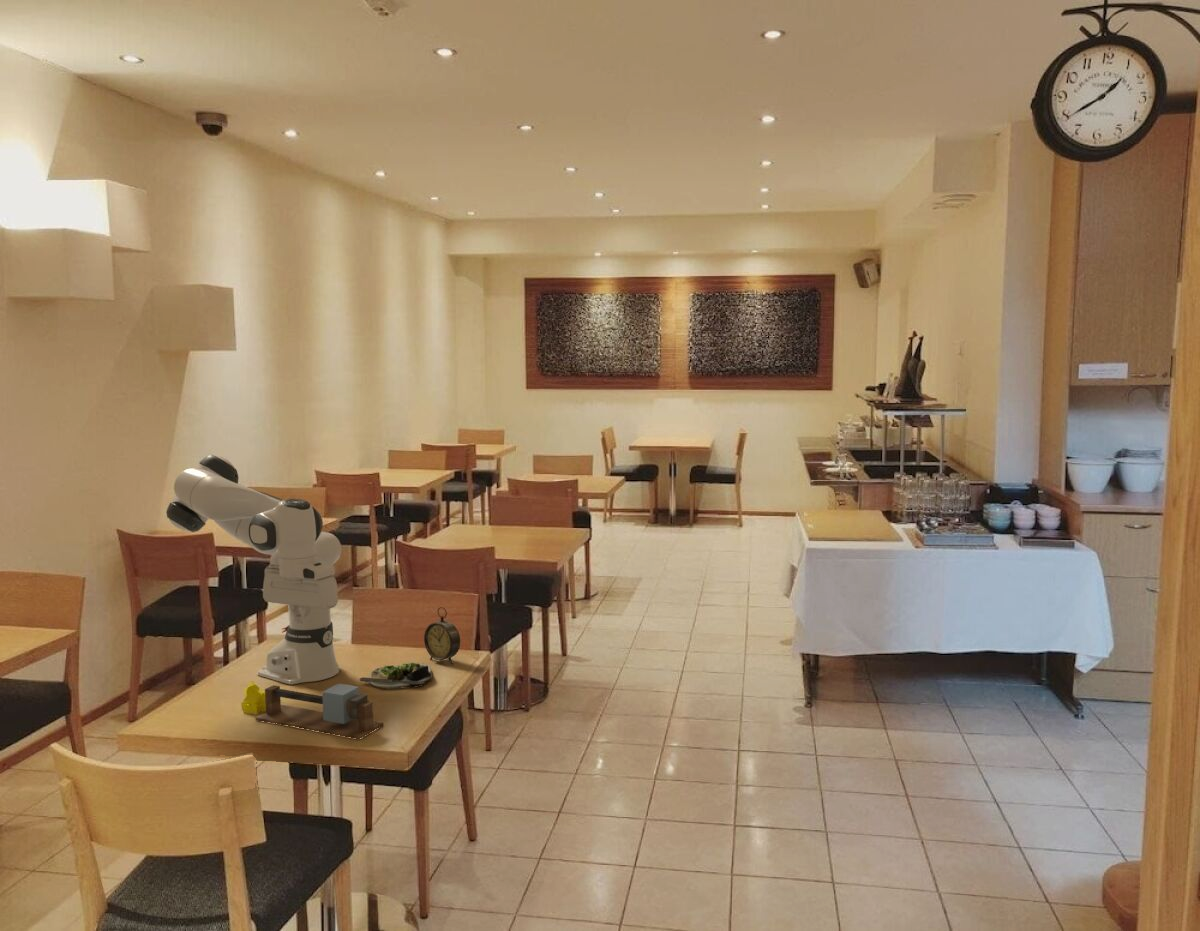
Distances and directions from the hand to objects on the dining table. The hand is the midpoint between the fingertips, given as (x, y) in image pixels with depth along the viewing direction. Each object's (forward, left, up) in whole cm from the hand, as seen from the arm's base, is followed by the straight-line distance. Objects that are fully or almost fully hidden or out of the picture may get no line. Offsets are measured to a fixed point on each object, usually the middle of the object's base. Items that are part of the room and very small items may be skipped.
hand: (301, 622), depth 226 cm
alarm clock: (+8, +50, -25) cm, 56 cm away
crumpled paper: (-16, +1, -25) cm, 29 cm away
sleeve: (+11, -1, -22) cm, 25 cm away
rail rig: (+5, -1, -24) cm, 25 cm away
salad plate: (+6, +33, -25) cm, 42 cm away
